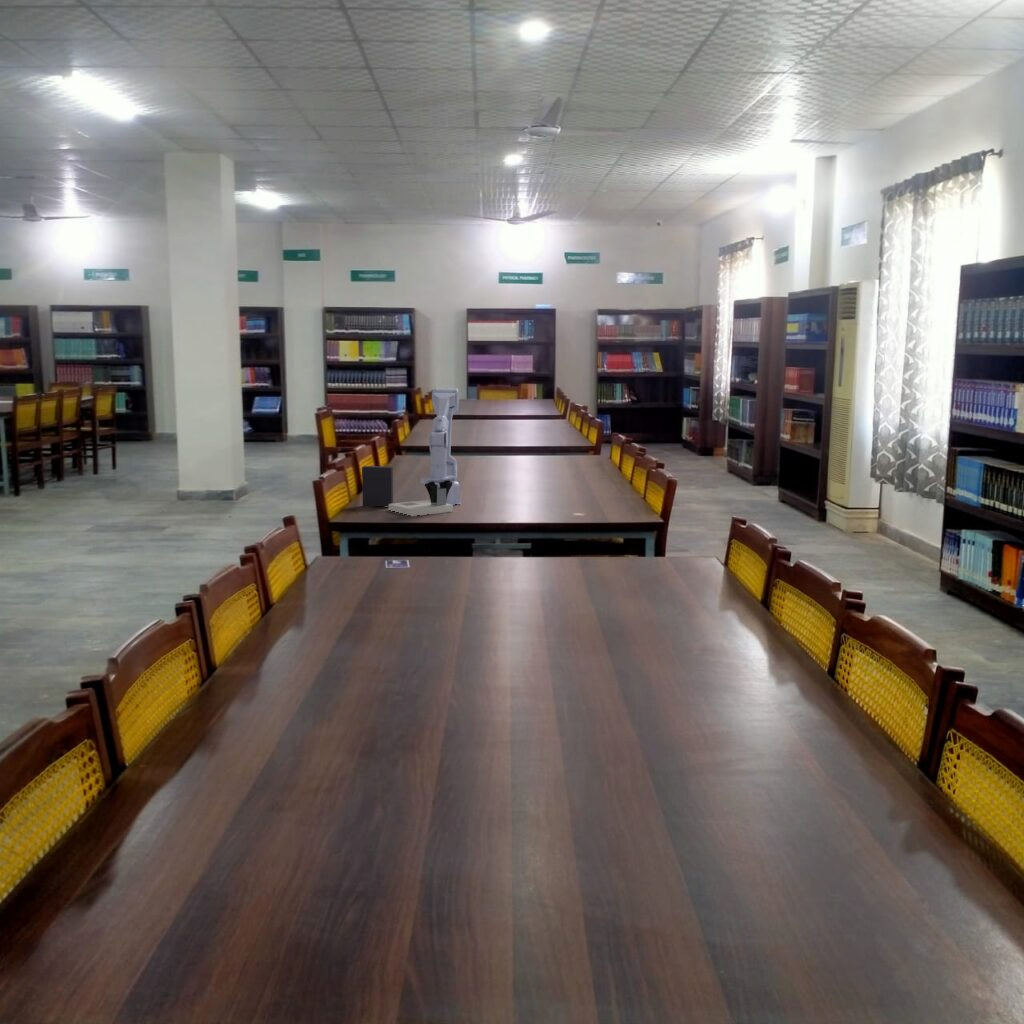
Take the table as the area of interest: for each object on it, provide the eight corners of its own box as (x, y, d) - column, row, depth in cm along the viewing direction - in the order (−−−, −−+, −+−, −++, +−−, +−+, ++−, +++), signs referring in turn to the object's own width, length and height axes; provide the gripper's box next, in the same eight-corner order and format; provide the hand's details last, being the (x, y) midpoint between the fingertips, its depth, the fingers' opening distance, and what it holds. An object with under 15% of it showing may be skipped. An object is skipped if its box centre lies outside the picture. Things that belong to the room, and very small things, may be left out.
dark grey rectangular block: (393, 506, 363) (393, 466, 361) (391, 507, 359) (390, 467, 357) (365, 505, 364) (364, 465, 362) (362, 506, 360) (361, 466, 358)
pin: (439, 503, 355) (439, 487, 354) (446, 504, 352) (446, 488, 351) (430, 504, 352) (430, 488, 351) (437, 505, 349) (437, 489, 348)
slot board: (429, 506, 364) (429, 499, 363) (453, 511, 352) (453, 504, 352) (388, 510, 352) (388, 503, 352) (411, 516, 341) (411, 509, 341)
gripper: (428, 467, 342) (428, 505, 344) (461, 464, 351) (461, 501, 353) (417, 465, 347) (417, 502, 350) (449, 462, 357) (449, 499, 359)
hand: (438, 502), depth 352 cm, fingers closed on pin, 4 cm apart
